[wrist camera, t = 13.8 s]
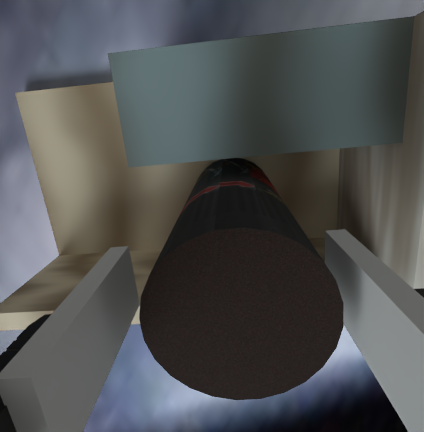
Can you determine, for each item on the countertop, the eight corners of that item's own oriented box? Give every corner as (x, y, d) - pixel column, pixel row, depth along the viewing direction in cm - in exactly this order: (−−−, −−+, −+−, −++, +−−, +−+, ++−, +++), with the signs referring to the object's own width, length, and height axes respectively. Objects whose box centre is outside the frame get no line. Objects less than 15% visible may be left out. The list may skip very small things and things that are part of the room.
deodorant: (184, 168, 23) (110, 253, 8) (263, 148, 22) (328, 204, 8) (205, 239, 24) (172, 412, 10) (278, 223, 24) (356, 384, 9)
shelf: (68, 262, 27) (-34, 355, 16) (24, 94, 22) (-154, 72, 12) (347, 244, 25) (433, 336, 14) (355, 56, 21) (486, -8, 10)
